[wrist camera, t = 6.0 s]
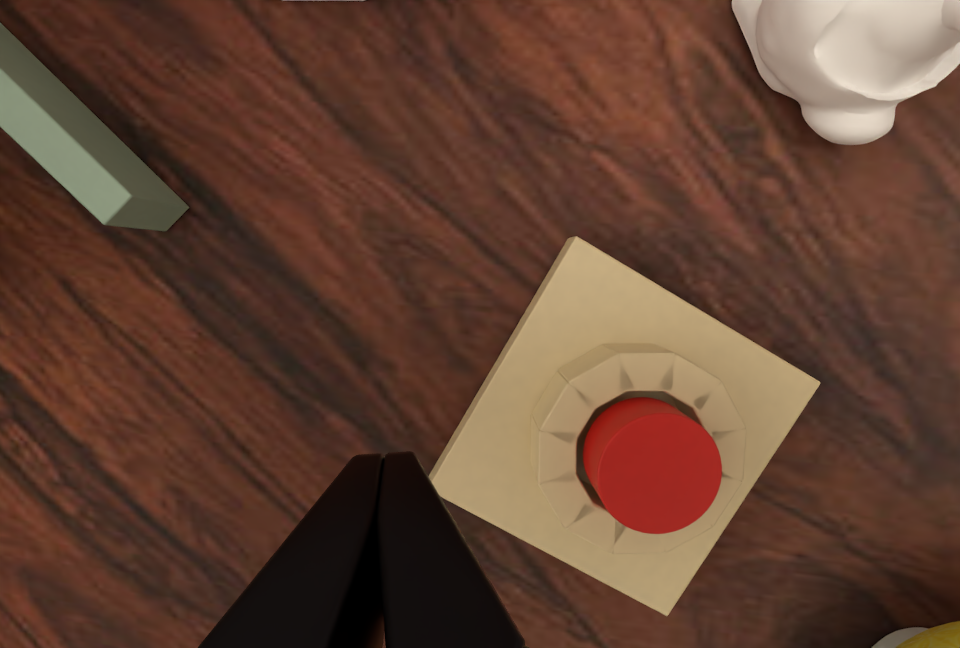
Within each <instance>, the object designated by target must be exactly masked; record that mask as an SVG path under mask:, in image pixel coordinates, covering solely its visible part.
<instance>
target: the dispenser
mask: <svg viewBox="0 0 960 648" xmlns="http://www.w3.org/2000/svg"><path fill="white" fill-rule="evenodd" d="M0 127H1V128H2V129H3V130H4V131H5V132H6V133H7V134H8V135H10V136H11V137H12V138H13V139H14V140H15V141H16V142H17V143H18V144H19V145H20V146H21V147H22V148H23V149H24V150H25V151H26V152H27V153H29V154H30V155H31V156H32V157H33V158H34V159H35V160H36V161H37V162H38V163H39V164H40V165H41V166H42V167H43V168H44V169H45V170H46V171H48V172H49V173H50V174H51V175H52V176H53V177H54V178H55V179H56V180H57V181H58V182H59V183H60V184H61V185H62V186H63V187H64V188H65V189H67V190H68V191H69V192H70V193H71V194H72V195H73V196H74V197H75V198H76V199H77V200H78V201H79V202H80V203H81V204H82V205H83V206H84V207H86V208H87V209H88V210H89V211H90V212H91V213H92V214H93V215H94V216H95V217H96V218H97V219H98V220H99V221H100V222H101V223H102V224H104V225H109V226H119V227H129V228H138V229H148V230H157V231H167V230H168V229H169V228H170V227H171V226H172V225H173V224H174V223H175V222H176V221H177V220H178V219H179V218H180V217H181V216H182V215H183V214H184V212H185V211H186V210H187V209H188V208H189V207H188V205H187V204H186V203H185V202H184V201H183V200H182V199H181V198H179V197H178V196H177V195H176V194H175V193H174V192H173V191H172V190H171V189H170V188H169V187H168V186H167V185H166V184H165V183H164V182H163V181H162V180H161V179H160V178H159V177H158V176H157V175H156V174H155V173H154V172H153V171H152V170H151V169H150V168H149V167H148V166H147V165H146V164H145V163H144V162H143V161H142V160H141V159H140V158H139V157H137V156H136V155H135V154H134V153H133V152H132V151H131V150H130V149H129V148H128V147H127V146H126V145H125V144H124V143H123V142H122V141H121V140H120V139H119V138H118V137H117V136H116V135H115V134H114V133H113V132H112V131H111V130H110V129H109V128H108V127H107V126H106V125H105V124H104V123H103V122H102V121H101V120H100V119H99V118H98V117H97V116H95V115H94V114H93V113H92V112H91V111H90V110H89V109H88V108H87V107H86V106H85V105H84V104H83V103H82V102H81V101H80V100H79V99H78V98H77V97H76V96H75V95H74V94H73V93H72V92H71V91H70V90H69V89H68V88H67V87H66V86H65V85H64V84H63V83H62V82H61V81H60V80H59V79H58V78H57V77H56V76H55V75H54V74H52V73H51V72H50V71H49V70H48V69H47V68H46V67H45V66H44V65H43V64H42V63H41V62H40V61H39V60H38V59H37V58H36V57H35V56H34V55H33V54H32V53H31V52H30V51H29V50H28V49H27V48H26V47H25V46H24V45H23V44H22V43H21V42H20V41H19V40H18V39H17V38H16V37H15V36H14V35H13V34H12V33H10V32H9V31H8V30H7V29H6V28H5V27H4V26H3V25H2V24H1V23H0Z"/></svg>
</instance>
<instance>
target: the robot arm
mask: <svg viewBox="0 0 960 648" xmlns="http://www.w3.org/2000/svg"><path fill="white" fill-rule="evenodd" d="M384 630H385V642H386V648H529V647H527V646H525V640H524V638H523V637H522V635H521V633H520V631H519V630H518V628H517V626H516V625H515V623H514V621H513V620H512V618H511V616H510V614H509V613H508V611H507V609H506V608H505V606H504V604H503V603H502V601H501V599H500V597H499V596H498V594H497V592H496V591H495V589H494V587H493V586H492V584H491V582H490V580H489V579H488V577H487V575H486V574H485V572H484V570H483V569H482V567H481V565H480V563H479V562H478V560H477V558H476V557H475V555H474V553H473V552H472V550H471V548H470V546H469V545H468V543H467V541H466V540H465V538H464V536H463V535H462V533H461V531H460V529H459V528H458V526H457V524H456V523H455V521H454V519H453V518H452V516H451V514H450V512H449V511H448V509H447V507H446V506H445V504H444V502H443V501H442V499H441V497H440V495H439V494H438V492H437V490H436V489H435V487H434V485H433V484H432V482H431V480H430V478H429V477H428V475H427V473H426V472H425V470H424V468H423V467H422V465H421V463H420V461H419V460H418V458H417V456H416V455H415V454H414V453H413V452H410V451H408V452H393V453H388V454H386V455H385V457H383V455H382V454H364V455H356V456H354V457H353V458H352V459H351V460H350V461H349V462H348V464H347V465H346V466H345V467H344V468H343V470H342V471H341V472H340V473H339V475H338V476H337V477H336V478H335V480H334V481H333V482H332V483H331V484H330V486H329V487H328V488H327V489H326V491H325V492H324V493H323V494H322V496H321V497H320V498H319V499H318V500H317V502H316V503H315V504H314V505H313V507H312V508H311V509H310V510H309V512H308V513H307V514H306V515H305V516H304V518H303V519H302V520H301V521H300V523H299V524H298V525H297V526H296V527H295V529H294V530H293V531H292V532H291V534H290V535H289V536H288V537H287V539H286V540H285V541H284V542H283V543H282V545H281V546H280V547H279V548H278V550H277V551H276V552H275V553H274V555H273V556H272V557H271V558H270V559H269V561H268V562H267V563H266V564H265V566H264V567H263V568H262V569H261V571H260V572H259V573H258V574H257V575H256V577H255V578H254V579H253V580H252V582H251V583H250V584H249V585H248V587H247V588H246V589H245V590H244V591H243V593H242V594H241V595H240V596H239V598H238V599H237V600H236V601H235V602H234V604H233V605H232V606H231V607H230V609H229V610H228V611H227V612H226V614H225V615H224V616H223V617H222V618H221V620H220V621H219V622H218V623H217V625H216V626H215V627H214V628H213V630H212V631H211V632H210V633H209V634H208V636H207V637H206V638H205V639H204V641H203V642H202V643H201V644H200V646H199V647H198V648H382V646H383V639H384Z"/></svg>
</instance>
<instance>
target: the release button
mask: <svg viewBox="0 0 960 648" xmlns="http://www.w3.org/2000/svg"><path fill="white" fill-rule="evenodd" d="M583 463H584V468H585V471H586V474H587V476H588V478H589V480H590V482H591V484H592V486H593V487H594V489H595V491H596V492H597V494H598V496H599V498H600V499H601V501H602V503H603V504H604V506H605V507H606V509H607V510H608V512H609V513H610V514H611V515H612V516H613V517H614V518H615V519H616V520H617V521H618V522H620V523H621V524H623V525H624V526H626V527H628V528H630V529H632V530H635V531H639V532H642V533H648V534H665V533H670V532H674V531H677V530H680V529H683V528H685V527H687V526H689V525H690V524H692V523H693V522H695V521H696V520H697V519H699V518H700V517H701V516H702V515H703V514H704V513H705V512H706V511H707V510H708V508H709V507H710V506H711V504H712V503H713V501H714V499H715V498H716V495H717V493H718V490H719V487H720V484H721V478H722V463H721V457H720V454H719V450H718V448H717V446H716V443H715V442H714V440H713V438H712V437H711V435H710V434H709V433H708V432H707V431H706V430H705V429H704V428H703V427H702V426H701V425H700V424H698V423H697V422H695V421H694V420H692V419H691V418H689V417H688V416H686V415H685V414H683V413H682V412H681V411H679V410H678V409H676V408H675V407H673V406H672V405H670V404H668V403H666V402H664V401H661V400H658V399H655V398H649V397H636V398H630V399H626V400H623V401H620V402H618V403H616V404H614V405H612V406H610V407H609V408H607V409H606V410H605V411H603V412H602V413H601V414H600V415H599V416H598V417H597V418H596V420H595V421H594V422H593V424H592V425H591V427H590V429H589V431H588V433H587V435H586V438H585V442H584V446H583Z"/></svg>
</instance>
